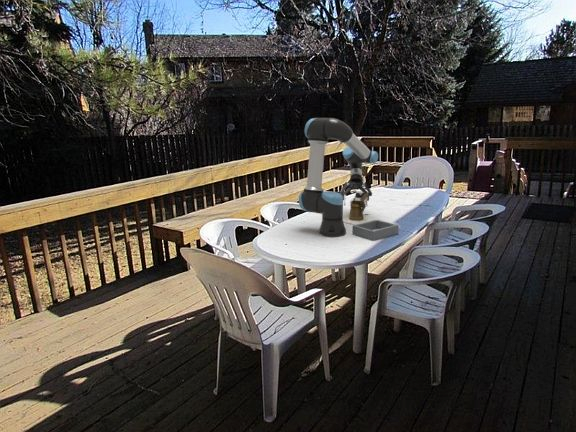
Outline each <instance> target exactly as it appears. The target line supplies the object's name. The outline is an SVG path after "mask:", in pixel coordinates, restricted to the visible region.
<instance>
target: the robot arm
mask: <svg viewBox="0 0 576 432" xmlns="http://www.w3.org/2000/svg"><path fill="white" fill-rule="evenodd" d="M304 135H305V137H306V138H307V143H309V154H308V155H309V157H308V167H307V168H308V169H307V176H306V177H307V178H306V179H307V180H306V186H305V187H303V191H302V192H301V193H299V196H298V205H299V208H300V209H301V210H302V211H305V212H308V213H313V214H315V213H316V214H321V217H322V218H321V222H320V225H319V226H320V227H319V230H318V231H319V235H321V236H322V237H323V236H324V237H330V238H331V237H341V236H344V235H346V234H347V233H346V232H347V228H346V226H345V222H343V217H344V214H343V213H344V207H346V196H347V195H348V194H349V192H351V191H352V190H354V191H356V190H361V191H362V192H363V193H364V194H365V193H368V197H367V198H366V206H365V207H367V206H368V202H369V201H370V197H372V196H373V192H372V191H371V188H370V187H369V185H368V182H367V181H364V182H363V163H364V164H376V163H377V162H378V159H379V153H378V151H375V150H370V149H369V148H368V146H367V145H365V143H364V142H362V140H360V139H359V137H357V136H356V135H355V133H354V130H353V129H352V128H351V127H350V126H349V125H348V124H347V123H346V122H344V121H342V120H340V119H338V118H334V117H314V118H310V119H309V120H308V121H306V124H305V127H304ZM329 140H336V141H339V143H342V144H344V145H345V146H346V147H345V148H343V150H342V156H343V158H344V160H346V162H347V163H348V165H349V166H350V176H349V177H350V178H349V182H347V181H345V183H344V185H343V187H342V188H341V190H340V192H338V191H330V190H324V189H323V186H322V182H323V171H324V161H325V151H326V145H327V144H329ZM347 187H348V188H347Z"/></svg>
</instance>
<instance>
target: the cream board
mask: <svg viewBox="0 0 576 432" xmlns="http://www.w3.org/2000/svg"><path fill="white" fill-rule="evenodd" d="M349 216H350V215H346V216H343V222H344V224H345V223H346V224H349V225H352V226H353V225H357V224H361V223H365V222H370V221H374V220H377V219H374V218H371V217H367V216H364V215H363V217H364V218H363V219H362V220H350V219H349Z"/></svg>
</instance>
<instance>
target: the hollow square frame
mask: <svg viewBox="0 0 576 432" xmlns="http://www.w3.org/2000/svg"><path fill="white" fill-rule="evenodd" d="M351 231H352V233H351V234H352V235H354V236H358V237H360V238H364V239H366V240H370V241H377V240H381V239H384V238H387V237H392V236H395V235H398V234H399V224H396V223H391V222H388V221H385V220H379V219H376V220H374V221H370V222H365V223H361V224H357V225H352V230H351Z"/></svg>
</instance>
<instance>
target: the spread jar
mask: <svg viewBox="0 0 576 432" xmlns="http://www.w3.org/2000/svg"><path fill="white" fill-rule="evenodd" d="M363 195H364V193H363V192H362V191H361V190H360V189H358V190H357V189H355V195H353V196H352V197H351V199H350V202H349V205H351V201H360V199H361V197H362V196H363ZM364 203H365V207H367V206H366V199H365V200H364Z"/></svg>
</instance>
